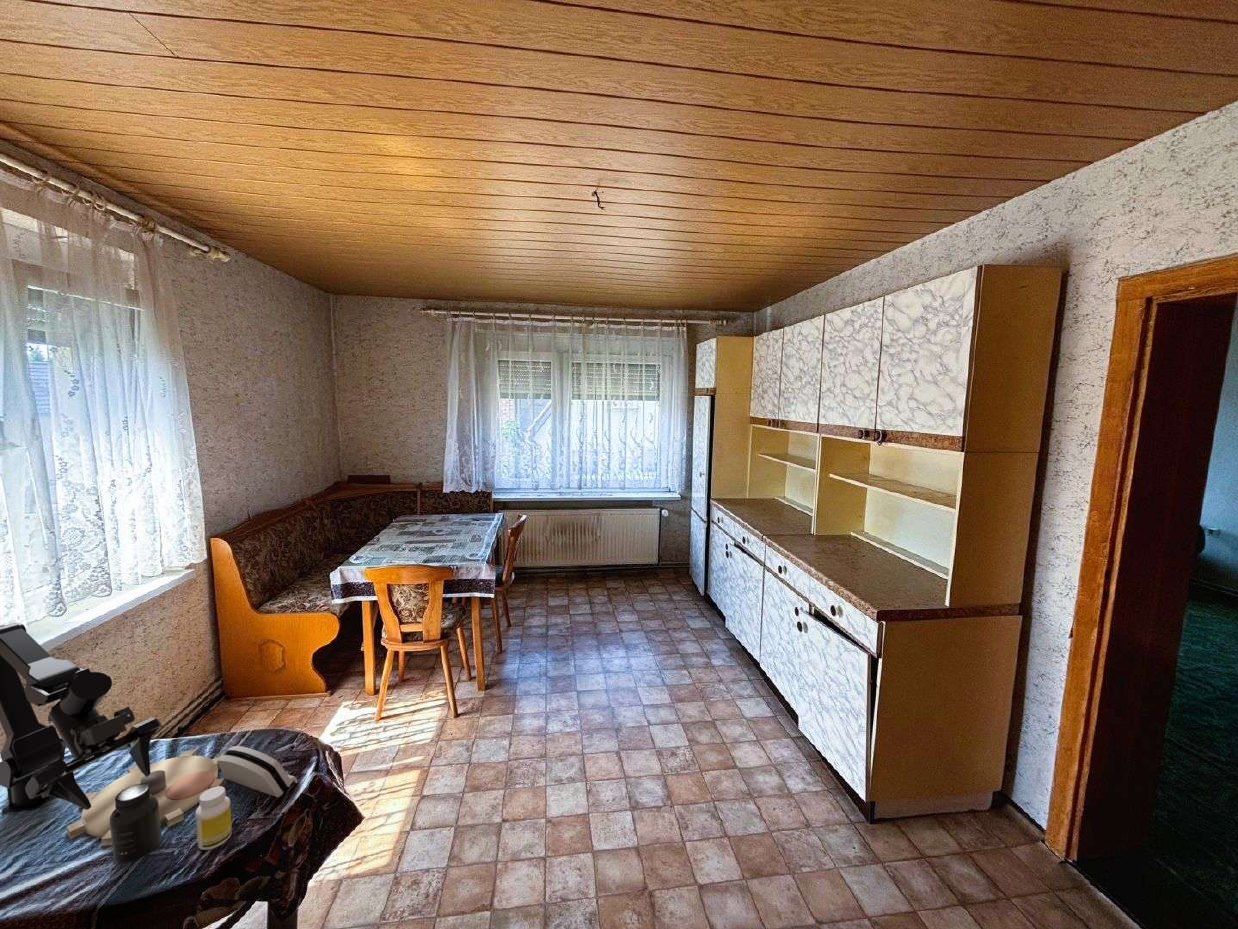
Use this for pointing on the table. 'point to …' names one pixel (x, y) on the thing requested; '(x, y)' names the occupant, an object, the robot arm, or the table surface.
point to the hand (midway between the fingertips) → (120, 791)
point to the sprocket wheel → (152, 792)
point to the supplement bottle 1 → (135, 823)
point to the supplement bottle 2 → (213, 818)
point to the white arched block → (254, 770)
